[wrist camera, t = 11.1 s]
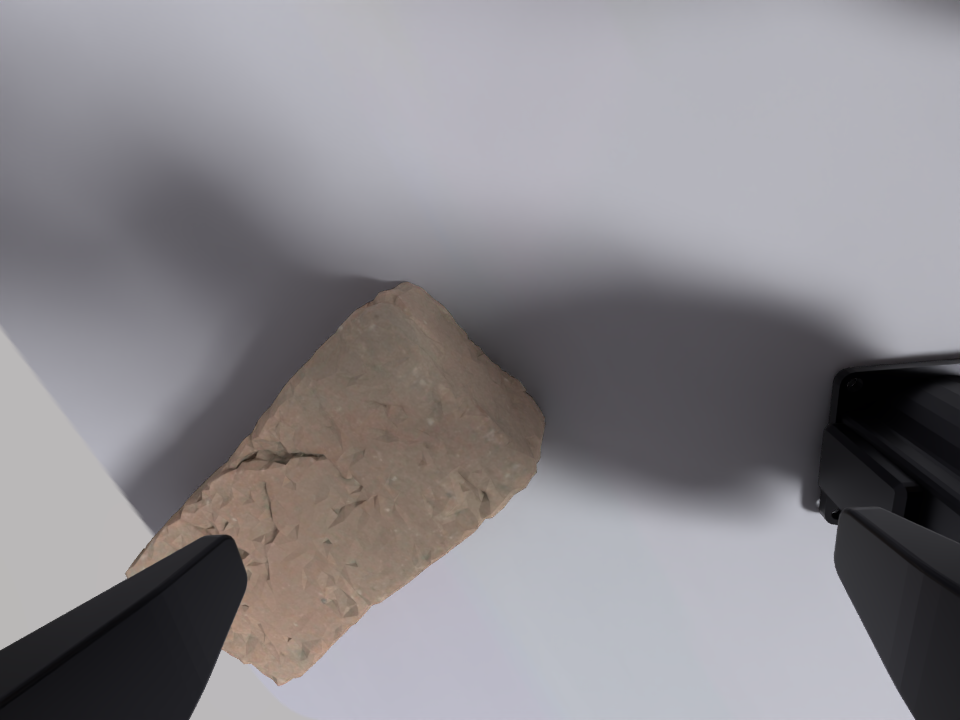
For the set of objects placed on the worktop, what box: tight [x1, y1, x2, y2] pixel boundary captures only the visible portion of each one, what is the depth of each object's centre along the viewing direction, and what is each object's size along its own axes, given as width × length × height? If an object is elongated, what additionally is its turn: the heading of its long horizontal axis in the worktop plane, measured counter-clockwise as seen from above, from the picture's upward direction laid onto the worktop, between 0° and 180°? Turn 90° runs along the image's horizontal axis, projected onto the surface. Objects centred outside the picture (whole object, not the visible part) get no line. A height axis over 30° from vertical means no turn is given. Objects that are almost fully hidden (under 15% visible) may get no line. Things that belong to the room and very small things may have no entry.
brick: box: [125, 282, 545, 686], centre depth 20 cm, size 16×8×5 cm, turn 137°
